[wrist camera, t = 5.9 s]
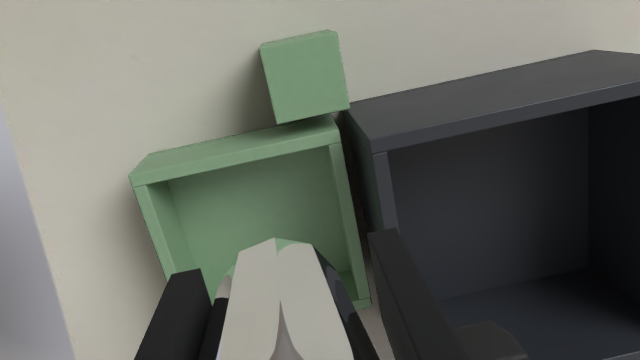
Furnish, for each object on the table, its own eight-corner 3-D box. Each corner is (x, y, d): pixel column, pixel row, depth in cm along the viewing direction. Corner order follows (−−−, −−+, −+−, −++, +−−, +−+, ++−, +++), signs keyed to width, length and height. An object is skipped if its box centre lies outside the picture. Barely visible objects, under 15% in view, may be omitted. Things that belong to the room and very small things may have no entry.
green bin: (148, 153, 31) (127, 175, 27) (330, 114, 31) (339, 129, 27) (201, 307, 35) (190, 347, 31) (361, 271, 36) (373, 307, 31)
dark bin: (342, 104, 31) (368, 138, 22) (594, 49, 31) (722, 61, 22) (381, 317, 37) (414, 413, 28) (592, 269, 37) (693, 349, 28)
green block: (261, 43, 29) (258, 47, 25) (328, 29, 29) (336, 30, 25) (276, 110, 31) (276, 124, 27) (340, 96, 31) (350, 108, 27)
